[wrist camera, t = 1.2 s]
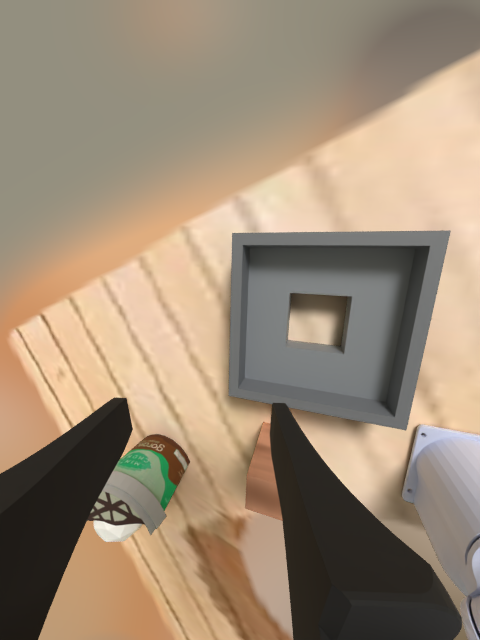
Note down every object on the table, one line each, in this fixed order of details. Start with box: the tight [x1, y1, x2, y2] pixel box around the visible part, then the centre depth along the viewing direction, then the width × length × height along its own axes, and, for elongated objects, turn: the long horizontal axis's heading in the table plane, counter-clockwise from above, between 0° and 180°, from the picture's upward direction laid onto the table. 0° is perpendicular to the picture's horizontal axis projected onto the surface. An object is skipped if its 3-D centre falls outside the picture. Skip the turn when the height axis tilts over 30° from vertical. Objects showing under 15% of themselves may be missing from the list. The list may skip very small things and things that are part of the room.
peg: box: [245, 422, 283, 521], centre depth 25 cm, size 4×4×8 cm
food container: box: [87, 434, 190, 535], centre depth 31 cm, size 12×6×10 cm, turn 108°
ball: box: [94, 520, 142, 542], centre depth 35 cm, size 8×8×8 cm
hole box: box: [229, 231, 450, 430], centre depth 22 cm, size 16×16×5 cm
